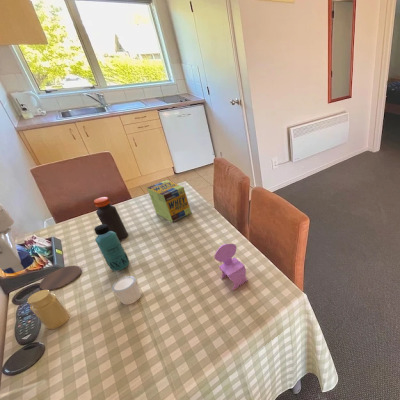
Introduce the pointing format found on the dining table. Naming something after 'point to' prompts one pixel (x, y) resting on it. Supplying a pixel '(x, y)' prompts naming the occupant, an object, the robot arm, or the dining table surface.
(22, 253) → the lid
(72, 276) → the coaster
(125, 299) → the shot glass
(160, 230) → the dining table surface
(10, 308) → the dining table surface
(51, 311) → the honey jar
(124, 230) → the vinegar
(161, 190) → the protein box
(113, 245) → the beverage bottle
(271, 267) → the dining table surface
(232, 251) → the toy chair
